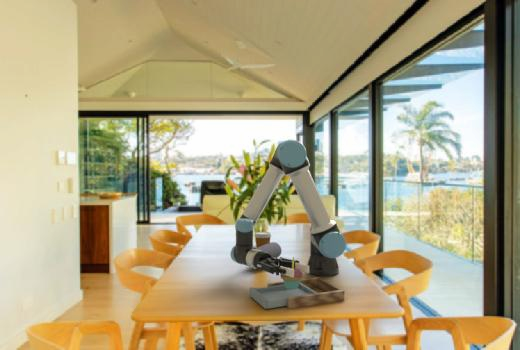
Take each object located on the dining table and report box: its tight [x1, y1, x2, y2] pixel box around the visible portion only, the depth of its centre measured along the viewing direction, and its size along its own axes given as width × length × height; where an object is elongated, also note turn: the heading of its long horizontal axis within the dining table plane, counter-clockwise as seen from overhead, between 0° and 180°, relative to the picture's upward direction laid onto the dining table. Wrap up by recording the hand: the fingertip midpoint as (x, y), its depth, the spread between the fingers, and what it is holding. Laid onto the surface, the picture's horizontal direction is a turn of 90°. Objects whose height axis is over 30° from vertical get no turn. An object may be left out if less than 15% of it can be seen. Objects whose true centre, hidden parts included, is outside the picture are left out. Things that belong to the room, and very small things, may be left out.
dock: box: [266, 276, 345, 309], centre depth 148 cm, size 24×19×4 cm
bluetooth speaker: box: [255, 241, 282, 259], centre depth 195 cm, size 23×9×10 cm, turn 154°
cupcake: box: [279, 256, 304, 289], centre depth 146 cm, size 9×8×12 cm
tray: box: [249, 283, 318, 310], centre depth 145 cm, size 22×15×3 cm
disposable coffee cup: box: [254, 231, 272, 248], centre depth 219 cm, size 10×10×12 cm
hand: (301, 271), depth 142 cm, fingers closed on cupcake, 8 cm apart
